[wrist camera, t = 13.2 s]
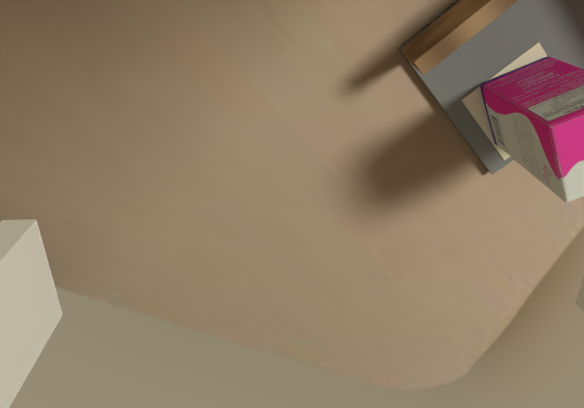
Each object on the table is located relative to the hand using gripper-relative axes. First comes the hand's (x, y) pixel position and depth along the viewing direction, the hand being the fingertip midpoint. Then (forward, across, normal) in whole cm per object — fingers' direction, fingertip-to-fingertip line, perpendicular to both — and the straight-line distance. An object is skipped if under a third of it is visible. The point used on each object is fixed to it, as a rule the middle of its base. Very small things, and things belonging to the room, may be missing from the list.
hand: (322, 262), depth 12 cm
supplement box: (+30, +19, -5) cm, 36 cm away
